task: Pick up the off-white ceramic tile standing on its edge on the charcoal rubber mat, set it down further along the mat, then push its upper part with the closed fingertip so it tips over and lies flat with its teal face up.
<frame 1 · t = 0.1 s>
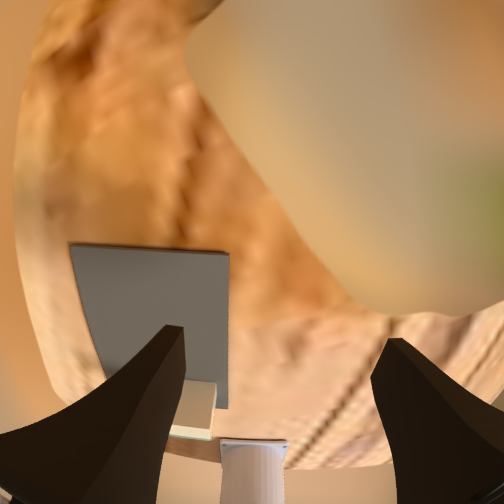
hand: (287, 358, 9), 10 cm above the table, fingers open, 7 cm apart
tile: (183, 386, 23), resting on mat
mat: (154, 340, 22), on the table
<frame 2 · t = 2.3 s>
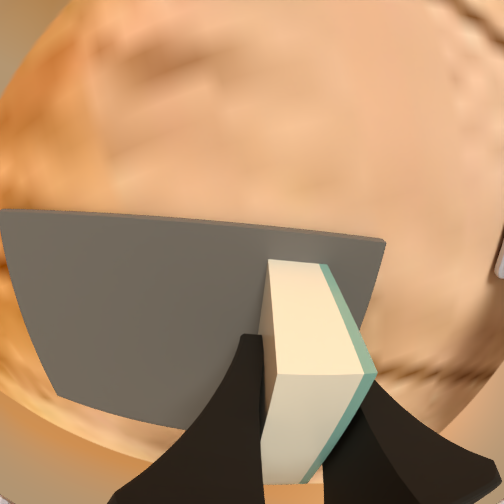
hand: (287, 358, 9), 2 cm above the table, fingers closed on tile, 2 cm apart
tile: (284, 333, 11), resting on mat, touching gripper
mat: (161, 350, 12), on the table
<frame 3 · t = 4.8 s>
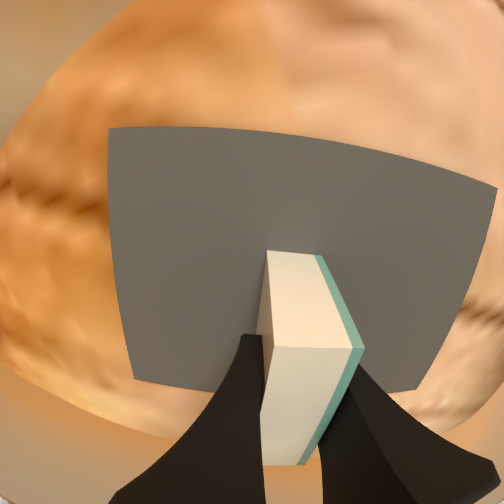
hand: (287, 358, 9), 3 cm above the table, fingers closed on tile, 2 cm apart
tile: (282, 321, 11), resting on mat, touching gripper
mat: (311, 295, 11), on the table
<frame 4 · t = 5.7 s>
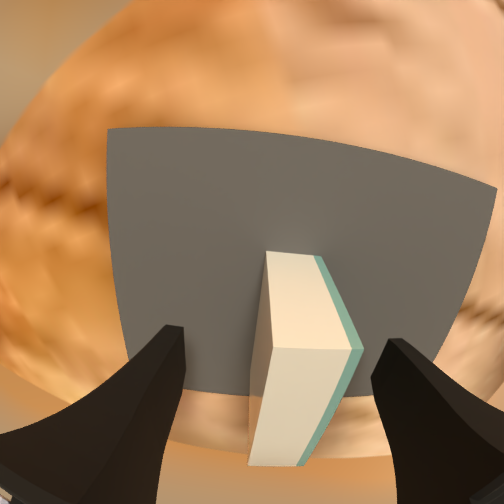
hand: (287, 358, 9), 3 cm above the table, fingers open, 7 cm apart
tile: (281, 321, 11), resting on mat
mat: (310, 296, 11), on the table
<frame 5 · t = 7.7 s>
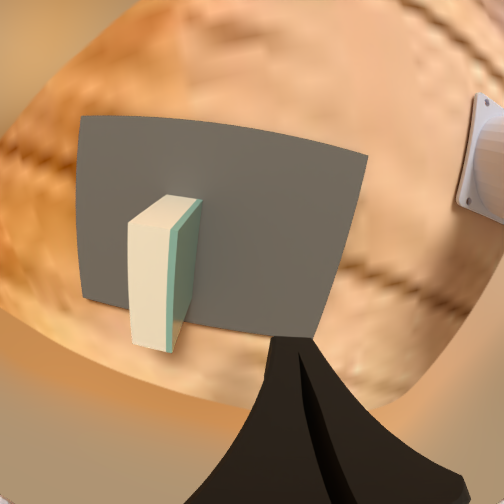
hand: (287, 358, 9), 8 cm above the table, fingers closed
tile: (179, 249, 16), resting on mat
mat: (200, 232, 16), on the table
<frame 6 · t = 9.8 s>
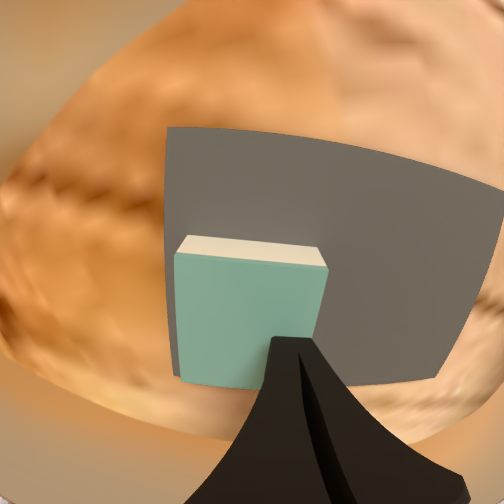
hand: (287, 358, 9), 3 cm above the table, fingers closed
tile: (307, 325, 11), point 1 cm above the table, tilted 90°, touching mat
mat: (351, 289, 12), on the table
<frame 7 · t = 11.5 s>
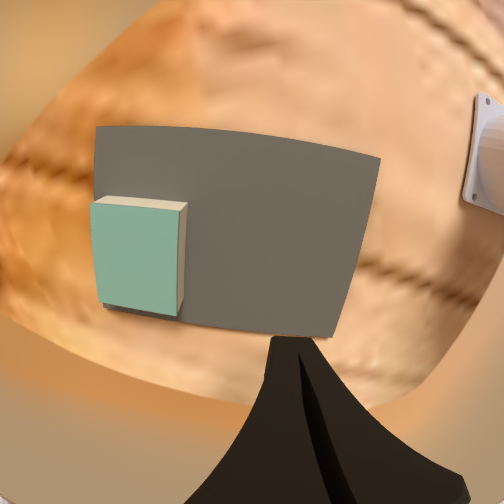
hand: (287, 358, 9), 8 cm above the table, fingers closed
tile: (181, 260, 15), point 1 cm above the table, tilted 90°, touching mat
mat: (222, 238, 16), on the table
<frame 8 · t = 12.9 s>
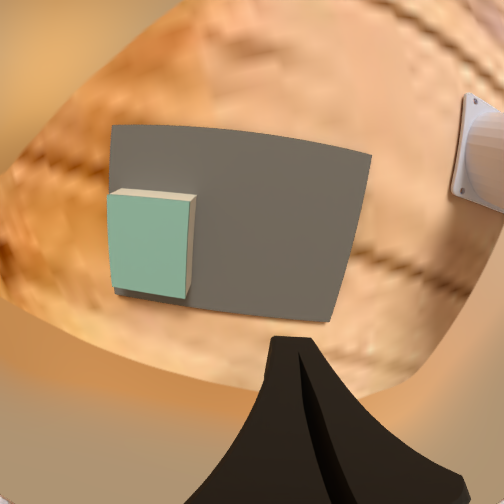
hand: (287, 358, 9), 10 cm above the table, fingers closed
tile: (189, 247, 17), point 1 cm above the table, tilted 90°, touching mat
mat: (228, 227, 18), on the table
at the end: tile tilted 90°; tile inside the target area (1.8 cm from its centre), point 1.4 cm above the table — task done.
